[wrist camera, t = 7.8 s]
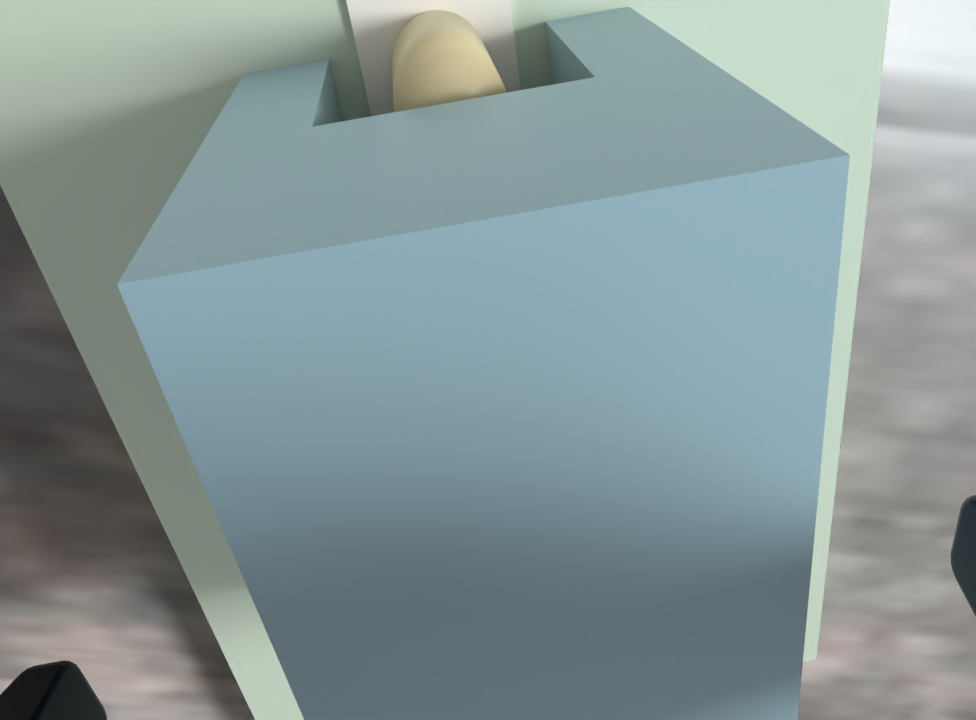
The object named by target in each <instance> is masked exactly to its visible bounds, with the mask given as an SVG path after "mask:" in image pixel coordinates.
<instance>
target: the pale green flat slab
mask: <svg viewBox="0 0 976 720" xmlns="http://www.w3.org/2000/svg"><path fill="white" fill-rule="evenodd" d="M889 4H890V0H0V186H1V188H2V190H3V192H4V194H5V196H6V199H7V201H8V203H9V205H10V207H11V209H12V211H13V213H14V215H15V217H16V219H17V222H18V224H19V226H20V228H21V230H22V232H23V234H24V236H25V238H26V240H27V243H28V245H29V247H30V249H31V251H32V253H33V255H34V257H35V259H36V261H37V264H38V266H39V268H40V270H41V272H42V274H43V276H44V278H45V280H46V282H47V284H48V287H49V289H50V291H51V293H52V295H53V297H54V299H55V301H56V303H57V305H58V308H59V310H60V312H61V314H62V316H63V318H64V320H65V322H66V324H67V326H68V329H69V331H70V333H71V335H72V337H73V339H74V341H75V343H76V345H77V347H78V349H79V352H80V354H81V356H82V358H83V360H84V362H85V364H86V366H87V368H88V370H89V373H90V375H91V377H92V379H93V381H94V383H95V385H96V387H97V389H98V391H99V394H100V396H101V398H102V400H103V402H104V404H105V406H106V408H107V410H108V412H109V415H110V417H111V419H112V421H113V423H114V425H115V427H116V429H117V431H118V433H119V435H120V438H121V440H122V442H123V444H124V446H125V448H126V450H127V452H128V454H129V456H130V459H131V461H132V463H133V465H134V467H135V469H136V471H137V473H138V475H139V477H140V480H141V482H142V484H143V486H144V488H145V490H146V492H147V494H148V496H149V498H150V500H151V503H152V505H153V507H154V509H155V511H156V513H157V515H158V517H159V519H160V521H161V524H162V526H163V528H164V530H165V532H166V534H167V536H168V538H169V540H170V542H171V545H172V547H173V549H174V551H175V553H176V555H177V557H178V559H179V561H180V563H181V565H182V568H183V570H184V572H185V574H186V576H187V578H188V580H189V582H190V584H191V586H192V589H193V591H194V593H195V595H196V597H197V599H198V601H199V603H200V605H201V607H202V610H203V612H204V614H205V616H206V618H207V620H208V622H209V624H210V626H211V628H212V630H213V633H214V635H215V637H216V639H217V641H218V643H219V645H220V647H221V649H222V651H223V654H224V656H225V658H226V660H227V662H228V664H229V666H230V668H231V670H232V672H233V675H234V677H235V679H236V681H237V683H238V685H239V687H240V689H241V691H242V693H243V696H244V698H245V700H246V702H247V704H248V706H249V708H250V710H251V712H252V714H253V716H254V719H255V720H304V718H303V716H302V713H301V711H300V709H299V706H298V704H297V702H296V699H295V697H294V695H293V692H292V690H291V688H290V685H289V683H288V681H287V679H286V676H285V674H284V672H283V669H282V667H281V665H280V662H279V660H278V658H277V655H276V653H275V651H274V648H273V646H272V644H271V641H270V639H269V637H268V634H267V632H266V630H265V627H264V625H263V623H262V621H261V618H260V616H259V614H258V611H257V609H256V607H255V604H254V602H253V600H252V597H251V595H250V593H249V590H248V588H247V586H246V583H245V581H244V579H243V576H242V574H241V572H240V569H239V567H238V565H237V563H236V560H235V558H234V556H233V553H232V551H231V549H230V546H229V544H228V542H227V539H226V537H225V535H224V532H223V530H222V528H221V525H220V523H219V521H218V518H217V516H216V514H215V511H214V509H213V507H212V504H211V502H210V500H209V498H208V495H207V493H206V491H205V488H204V486H203V484H202V481H201V479H200V477H199V474H198V472H197V470H196V467H195V465H194V463H193V460H192V458H191V456H190V453H189V451H188V449H187V446H186V444H185V442H184V440H183V437H182V435H181V433H180V430H179V428H178V426H177V423H176V421H175V419H174V416H173V414H172V412H171V409H170V407H169V405H168V402H167V400H166V398H165V395H164V393H163V391H162V388H161V386H160V384H159V382H158V379H157V377H156V375H155V372H154V370H153V368H152V365H151V363H150V361H149V358H148V356H147V354H146V351H145V349H144V347H143V344H142V342H141V340H140V337H139V335H138V333H137V330H136V328H135V326H134V323H133V321H132V319H131V317H130V314H129V312H128V310H127V307H126V305H125V303H124V300H123V298H122V296H121V293H120V291H119V289H118V286H117V283H118V282H119V280H120V278H121V277H122V275H123V273H124V272H125V270H126V269H127V267H128V265H129V264H130V262H131V260H132V259H133V257H134V255H135V254H136V252H137V250H138V249H139V247H140V245H141V244H142V242H143V240H144V239H145V237H146V235H147V234H148V232H149V230H150V229H151V227H152V225H153V224H154V222H155V220H156V219H157V217H158V216H159V214H160V212H161V211H162V209H163V207H164V206H165V204H166V202H167V201H168V199H169V197H170V196H171V194H172V192H173V191H174V189H175V187H176V186H177V184H178V182H179V181H180V179H181V177H182V176H183V174H184V172H185V171H186V169H187V167H188V166H189V164H190V163H191V161H192V159H193V158H194V156H195V154H196V153H197V151H198V149H199V148H200V146H201V144H202V143H203V141H204V139H205V138H206V136H207V134H208V133H209V131H210V129H211V128H212V126H213V124H214V123H215V121H216V119H217V118H218V116H219V115H220V113H221V111H222V110H223V108H224V106H225V105H226V103H227V101H228V100H229V98H230V96H231V95H232V93H233V91H234V90H235V88H236V86H237V85H238V83H239V81H240V80H241V78H242V76H243V75H244V74H246V73H251V72H257V71H263V70H269V69H274V68H280V67H286V66H292V65H297V64H303V63H309V62H315V61H320V60H326V59H329V60H330V64H331V68H332V73H333V77H334V81H335V85H336V89H337V94H338V98H339V102H340V106H341V110H342V115H343V119H344V121H347V120H353V119H359V118H365V117H370V116H376V115H382V114H387V113H393V112H399V111H405V110H410V109H416V108H422V107H428V106H433V105H439V104H445V103H450V102H456V101H462V100H468V99H473V98H479V97H485V96H490V95H496V94H502V93H508V92H513V91H519V90H525V89H530V88H536V87H542V86H548V85H551V77H550V67H549V57H548V47H547V37H546V27H545V21H551V20H556V19H562V18H568V17H574V16H579V15H585V14H591V13H597V12H602V11H608V10H614V9H620V8H625V7H630V8H632V9H633V10H635V11H636V12H638V13H639V14H641V15H642V16H644V17H645V18H647V19H648V20H650V21H651V22H653V23H654V24H656V25H657V26H659V27H660V28H662V29H663V30H665V31H666V32H668V33H669V34H671V35H672V36H674V37H675V38H676V39H678V40H679V41H681V42H682V43H684V44H685V45H687V46H688V47H690V48H691V49H693V50H694V51H696V52H697V53H699V54H700V55H702V56H703V57H705V58H706V59H708V60H709V61H711V62H712V63H714V64H715V65H717V66H718V67H720V68H721V69H723V70H724V71H726V72H727V73H729V74H730V75H732V76H733V77H735V78H736V79H738V80H739V81H741V82H742V83H744V84H745V85H746V86H748V87H749V88H751V89H752V90H754V91H755V92H757V93H758V94H760V95H761V96H763V97H764V98H766V99H767V100H769V101H770V102H772V103H773V104H775V105H776V106H778V107H779V108H781V109H782V110H784V111H785V112H787V113H788V114H790V115H791V116H793V117H794V118H796V119H797V120H799V121H800V122H802V123H803V124H805V125H806V126H808V127H809V128H811V129H812V130H814V131H815V132H816V133H818V134H819V135H821V136H822V137H824V138H825V139H827V140H828V141H830V142H831V143H833V144H834V145H836V146H837V147H839V148H840V149H842V150H843V151H845V152H846V153H848V154H849V155H850V160H849V171H848V182H847V193H846V203H845V214H844V225H843V235H842V246H841V257H840V268H839V278H838V289H837V300H836V311H835V321H834V332H833V343H832V353H831V364H830V375H829V386H828V396H827V407H826V418H825V429H824V439H823V450H822V461H821V471H820V482H819V493H818V504H817V514H816V525H815V536H814V547H813V557H812V568H811V579H810V589H809V600H808V611H807V622H806V632H805V643H804V654H803V662H808V661H814V660H816V657H817V648H818V639H819V630H820V621H821V612H822V603H823V594H824V585H825V576H826V567H827V558H828V549H829V541H830V532H831V523H832V514H833V505H834V496H835V487H836V478H837V469H838V460H839V451H840V442H841V433H842V424H843V415H844V406H845V397H846V388H847V380H848V371H849V362H850V353H851V344H852V335H853V326H854V317H855V308H856V299H857V290H858V281H859V272H860V263H861V254H862V245H863V236H864V227H865V219H866V210H867V201H868V192H869V183H870V174H871V165H872V156H873V147H874V138H875V129H876V120H877V111H878V102H879V93H880V84H881V75H882V66H883V58H884V49H885V40H886V31H887V22H888V13H889Z"/></svg>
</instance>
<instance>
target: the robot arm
mask: <svg viewBox="0 0 976 720" xmlns="http://www.w3.org/2000/svg"><path fill="white" fill-rule="evenodd" d="M951 565H952V569H953V572H954V575H955V577H956V580H957V582H958V584H959V586H960V587H961V589H962V591H963V593H964V595H965V597H966V599H967V601H968V603H969V605H970V607H971V608H972V610H973V612H974V614H975V616H976V495H975V496H971V497H968V498H967V499H966V500H965V501H964V502H963V504H962V506H961V509H960V514H959V518H958V523H957V527H956V532H955V536H954V541H953V545H952V550H951ZM0 720H107V716H106V712H105V710H104V707H103V705H102V704H101V702H100V701H99V699H98V698H97V696H96V694H95V693H94V691H93V690H92V688H91V686H90V685H89V683H88V682H87V680H86V679H85V677H84V675H83V674H82V672H81V671H80V669H79V668H78V666H77V665H76V664H74V663H72V662H70V661H59V662H53V663H48V664H42V665H37V666H33V667H30V668H28V669H26V670H25V671H23V672H22V673H21V674H20V675H19V676H18V677H17V678H16V679H15V680H14V681H13V682H12V683H11V684H10V685H9V686H8V687H7V688H6V689H5V690H4V691H3V693H2V694H1V695H0Z"/></svg>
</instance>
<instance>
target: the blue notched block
mask: <svg viewBox="0 0 976 720" xmlns="http://www.w3.org/2000/svg"><path fill="white" fill-rule="evenodd" d="M545 27H546V37H547V47H548V57H549V67H550V77H551V85H548V86H542V87H536V88H530V89H525V90H519V91H513V92H508V93H502V94H496V95H490V96H485V97H479V98H473V99H468V100H462V101H456V102H450V103H445V104H439V105H433V106H428V107H422V108H416V109H410V110H405V111H399V112H393V113H387V114H382V115H376V116H370V117H365V118H359V119H353V120H347V121H344V119H343V115H342V110H341V106H340V102H339V98H338V94H337V89H336V85H335V81H334V77H333V73H332V68H331V64H330V60H329V59H326V60H320V61H315V62H309V63H303V64H297V65H292V66H286V67H280V68H274V69H269V70H263V71H257V72H251V73H246V74H244V75H243V76H242V78H241V80H240V81H239V83H238V85H237V86H236V88H235V90H234V91H233V93H232V95H231V96H230V98H229V100H228V101H227V103H226V105H225V106H224V108H223V110H222V111H221V113H220V115H219V116H218V118H217V119H216V121H215V123H214V124H213V126H212V128H211V129H210V131H209V133H208V134H207V136H206V138H205V139H204V141H203V143H202V144H201V146H200V148H199V149H198V151H197V153H196V154H195V156H194V158H193V159H192V161H191V163H190V164H189V166H188V167H187V169H186V171H185V172H184V174H183V176H182V177H181V179H180V181H179V182H178V184H177V186H176V187H175V189H174V191H173V192H172V194H171V196H170V197H169V199H168V201H167V202H166V204H165V206H164V207H163V209H162V211H161V212H160V214H159V216H158V217H157V219H156V220H155V222H154V224H153V225H152V227H151V229H150V230H149V232H148V234H147V235H146V237H145V239H144V240H143V242H142V244H141V245H140V247H139V249H138V250H137V252H136V254H135V255H134V257H133V259H132V260H131V262H130V264H129V265H128V267H127V269H126V270H125V272H124V273H123V275H122V277H121V278H120V280H119V282H118V283H117V286H118V289H119V291H120V293H121V296H122V298H123V300H124V303H125V305H126V307H127V310H128V312H129V314H130V317H131V319H132V321H133V323H134V326H135V328H136V330H137V333H138V335H139V337H140V340H141V342H142V344H143V347H144V349H145V351H146V354H147V356H148V358H149V361H150V363H151V365H152V368H153V370H154V372H155V375H156V377H157V379H158V382H159V384H160V386H161V388H162V391H163V393H164V395H165V398H166V400H167V402H168V405H169V407H170V409H171V412H172V414H173V416H174V419H175V421H176V423H177V426H178V428H179V430H180V433H181V435H182V437H183V440H184V442H185V444H186V446H187V449H188V451H189V453H190V456H191V458H192V460H193V463H194V465H195V467H196V470H197V472H198V474H199V477H200V479H201V481H202V484H203V486H204V488H205V491H206V493H207V495H208V498H209V500H210V502H211V504H212V507H213V509H214V511H215V514H216V516H217V518H218V521H219V523H220V525H221V528H222V530H223V532H224V535H225V537H226V539H227V542H228V544H229V546H230V549H231V551H232V553H233V556H234V558H235V560H236V563H237V565H238V567H239V569H240V572H241V574H242V576H243V579H244V581H245V583H246V586H247V588H248V590H249V593H250V595H251V597H252V600H253V602H254V604H255V607H256V609H257V611H258V614H259V616H260V618H261V621H262V623H263V625H264V627H265V630H266V632H267V634H268V637H269V639H270V641H271V644H272V646H273V648H274V651H275V653H276V655H277V658H278V660H279V662H280V665H281V667H282V669H283V672H284V674H285V676H286V679H287V681H288V683H289V685H290V688H291V690H292V692H293V695H294V697H295V699H296V702H297V704H298V706H299V709H300V711H301V713H302V716H303V718H304V720H797V718H798V707H799V697H800V686H801V675H802V665H803V654H804V643H805V632H806V622H807V611H808V600H809V589H810V579H811V568H812V557H813V547H814V536H815V525H816V514H817V504H818V493H819V482H820V471H821V461H822V450H823V439H824V429H825V418H826V407H827V396H828V386H829V375H830V364H831V353H832V343H833V332H834V321H835V311H836V300H837V289H838V278H839V268H840V257H841V246H842V235H843V225H844V214H845V203H846V193H847V182H848V171H849V160H850V155H849V154H848V153H846V152H845V151H843V150H842V149H840V148H839V147H837V146H836V145H834V144H833V143H831V142H830V141H828V140H827V139H825V138H824V137H822V136H821V135H819V134H818V133H816V132H815V131H814V130H812V129H811V128H809V127H808V126H806V125H805V124H803V123H802V122H800V121H799V120H797V119H796V118H794V117H793V116H791V115H790V114H788V113H787V112H785V111H784V110H782V109H781V108H779V107H778V106H776V105H775V104H773V103H772V102H770V101H769V100H767V99H766V98H764V97H763V96H761V95H760V94H758V93H757V92H755V91H754V90H752V89H751V88H749V87H748V86H746V85H745V84H744V83H742V82H741V81H739V80H738V79H736V78H735V77H733V76H732V75H730V74H729V73H727V72H726V71H724V70H723V69H721V68H720V67H718V66H717V65H715V64H714V63H712V62H711V61H709V60H708V59H706V58H705V57H703V56H702V55H700V54H699V53H697V52H696V51H694V50H693V49H691V48H690V47H688V46H687V45H685V44H684V43H682V42H681V41H679V40H678V39H676V38H675V37H674V36H672V35H671V34H669V33H668V32H666V31H665V30H663V29H662V28H660V27H659V26H657V25H656V24H654V23H653V22H651V21H650V20H648V19H647V18H645V17H644V16H642V15H641V14H639V13H638V12H636V11H635V10H633V9H632V8H630V7H625V8H620V9H614V10H608V11H602V12H597V13H591V14H585V15H579V16H574V17H568V18H562V19H556V20H551V21H545Z"/></svg>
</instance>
